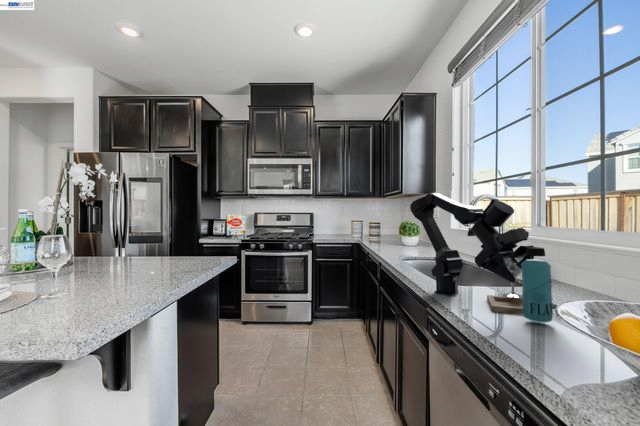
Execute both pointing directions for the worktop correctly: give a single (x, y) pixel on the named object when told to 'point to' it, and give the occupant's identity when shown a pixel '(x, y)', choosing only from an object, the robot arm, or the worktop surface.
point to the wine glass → (515, 272)
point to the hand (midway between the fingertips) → (527, 280)
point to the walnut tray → (505, 304)
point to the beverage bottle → (536, 287)
